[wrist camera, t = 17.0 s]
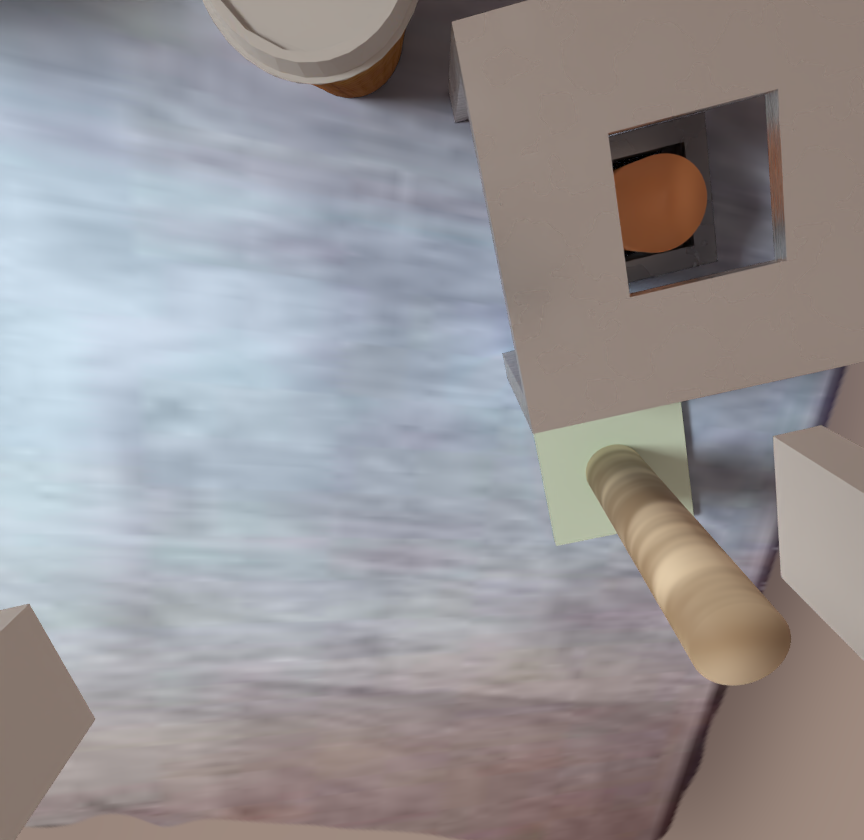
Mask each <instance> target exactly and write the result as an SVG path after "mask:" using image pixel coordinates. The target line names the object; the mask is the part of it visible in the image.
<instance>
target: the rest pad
mask: <svg viewBox="0 0 864 840" xmlns="http://www.w3.org/2000/svg"><path fill="white" fill-rule="evenodd" d="M534 439H535V444H536V449H537V455H538V460H539V465H540V470H541V475H542V480H543V485H544V490H545V495H546V500H547V505H548V510H549V515H550V521H551V526H552V531H553V536H554V541H555V543H556V546H558V545H563V544H568V543H573V542H578V541H583V540H588V539H593V538H598V537H603V536H608V535H613V534H617V532H616V530H615V529H614V527H613V525H612V524H611V522H610V520H609V518H608V517H607V515H606V513H605V512H604V510H603V508H602V506H601V505H600V503H599V501H598V499H597V498H596V496H595V494H594V493H593V491H592V489H591V487H590V486H589V484H588V482H587V479H586V467H587V464H588V462H589V460H590V458H591V457H592V456H593V454H595V453H596V452H597V451H598V450H600V449H601V448H603V447H606V446H609V445H614V444H620V445H625V446H628V447H630V448H632V449H633V450H635V451H636V452H637V453H638V454H639V455H640V456H641V458H642V459H643V460H644V461H645V462H646V463H647V464H648V465H649V467H650V468H651V469H652V470H653V471H654V472H655V473H656V475H657V476H658V477H659V478H660V479H661V480H662V481H663V482H664V484H665V485H666V486H667V487H668V488H669V489H670V490H671V491H672V493H673V494H674V495H675V496H676V497H677V498H678V499H679V501H680V502H681V503H682V504H683V505H684V506H685V507H686V508H687V510H688V511H689V512H690V513H691V514H692V515H693V516H694V513H693V505H692V496H691V487H690V478H689V469H688V460H687V452H686V443H685V434H684V425H683V416H682V408H681V402H677V403H673V404H668V405H664V406H659V407H654V408H650V409H645V410H641V411H636V412H631V413H627V414H622V415H618V416H613V417H609V418H604V419H599V420H595V421H590V422H586V423H581V424H576V425H572V426H567V427H563V428H558V429H553V430H549V431H544V432H540V433H535V434H534Z"/></svg>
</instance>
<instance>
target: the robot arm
mask: <svg viewBox="0 0 864 840" xmlns="http://www.w3.org/2000/svg"><path fill="white" fill-rule="evenodd" d="M773 444H774V461H775V479H776V496H777V514H778V532H779V549H780V567H781V577H782V578H783V579H784V580H785V581H786V582H787V584H789V585H790V586H791V588H792V589H793V590H795V592H796V593H798V595H799V596H800V597H801V598H802V599H803V600H804V601H805V602H806V603H807V604H808V605H809V606H810V607H811V608H812V609H813V610H814V611H815V612H816V613H817V614H818V615H819V616H820V617H821V618H822V619H823V620H824V621H825V622H826V623H827V624H828V625H829V626H830V627H831V628H832V629H833V630H834V631H835V632H836V633H837V634H838V635H839V636H840V637H841V638H842V639H843V640H844V641H845V642H846V643H847V644H848V645H849V646H850V647H851V648H852V649H853V650H854V651H855V652H856V654H858V656H860V658H862V660H863V661H864V448H863V447H861V446H860V445H858V444H856V443H854V442H852V441H850V440H848V439H846V438H844V437H842V436H840V435H838V434H837V433H835V432H833V431H831V430H829V429H827V428H825V427H823V426H816V427H812V428H807V429H803V430H799V431H794V432H790V433H785V434H781V435H776V436H773ZM94 720H95V718H94V716H93V714H92V712H91V711H90V709H89V707H88V705H87V704H86V702H85V700H84V699H83V697H82V695H81V693H80V692H79V690H78V688H77V686H76V685H75V683H74V681H73V679H72V678H71V676H70V674H69V672H68V671H67V669H66V667H65V665H64V664H63V662H62V660H61V658H60V657H59V655H58V653H57V651H56V650H55V648H54V646H53V644H52V643H51V641H50V639H49V637H48V636H47V634H46V632H45V630H44V629H43V627H42V625H41V623H40V622H39V620H38V618H37V617H36V615H35V613H34V611H33V610H32V608H31V606H30V604H26V605H21V606H17V607H12V608H8V609H4V610H0V840H15V839H16V838H17V836H18V835H19V833H20V832H21V830H22V829H23V827H24V826H25V824H26V823H27V821H28V820H29V818H30V817H31V815H32V814H33V812H34V811H35V809H36V808H37V806H38V805H39V803H40V802H41V800H42V799H43V797H44V796H45V794H46V793H47V791H48V790H49V788H50V787H51V785H52V784H53V782H54V781H55V779H56V778H57V776H58V775H59V773H60V772H61V770H62V769H63V767H64V766H65V764H66V763H67V761H68V760H69V758H70V757H71V755H72V754H73V752H74V751H75V749H76V748H77V746H78V745H79V743H80V742H81V740H82V739H83V737H84V736H85V734H86V733H87V731H88V729H89V728H90V726H91V725H92V723H93V722H94Z"/></svg>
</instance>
